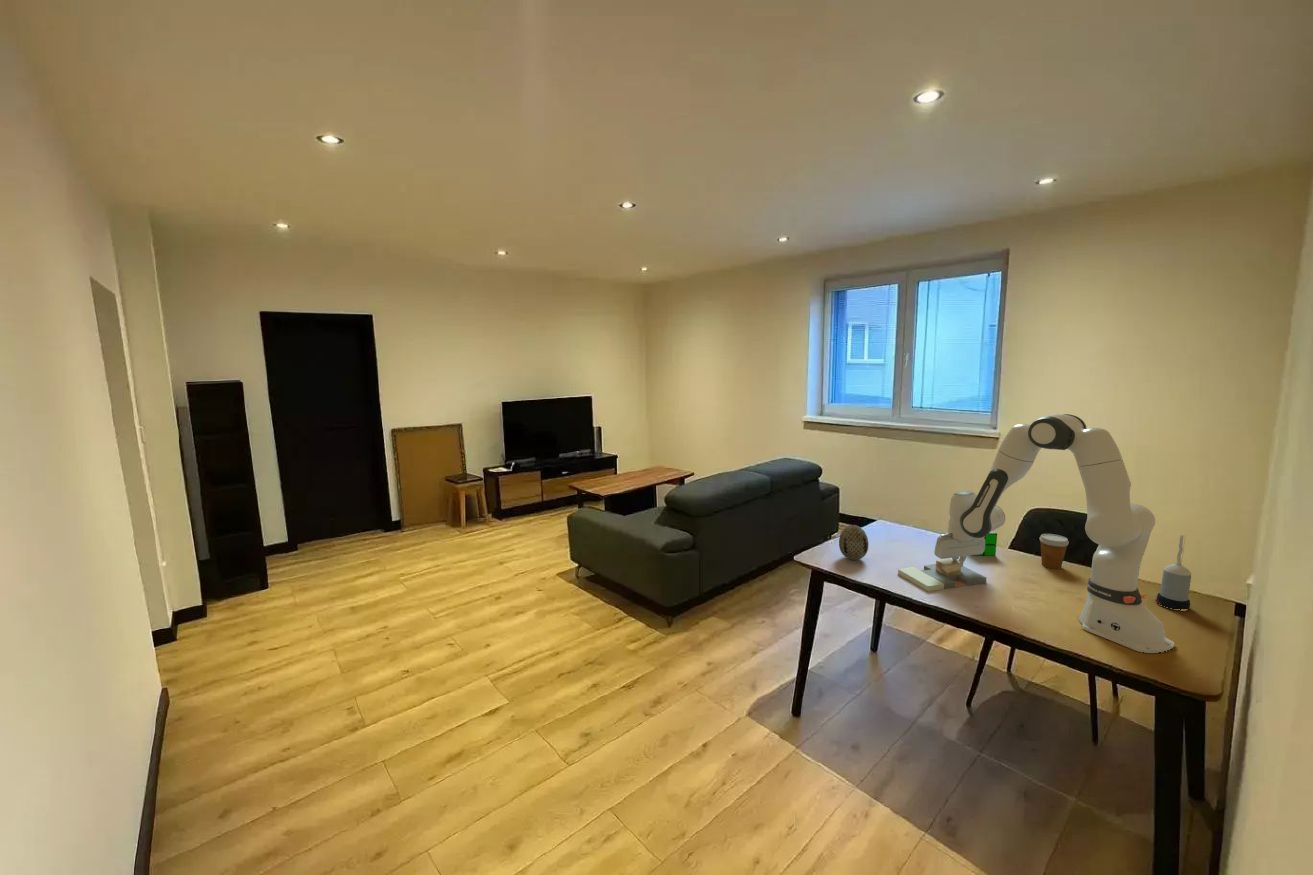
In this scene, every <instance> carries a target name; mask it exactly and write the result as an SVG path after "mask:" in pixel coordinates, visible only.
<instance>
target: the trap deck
mask: <svg viewBox="0 0 1313 875" xmlns="http://www.w3.org/2000/svg"><path fill="white" fill-rule="evenodd" d="M897 574H898V575H899V576H901V577H903V578H904V579H906V580H907V581H909V582H911V583H912V584H915V585H916V586H918V587H920V588H921V589H923V590H925V591H926V592H934V591H939V590H946V589H952V588H958V587H960V588H961V587H965V586H973V585H978V584H979V585H980V584H985V583H987V579H988V578H987V577H986V576H985V575H982V574H980V573H978V572H976V571H974V570H972V569H970V568H968V567H966V566H964V565H963V566H962V567H961V574H959V575H951V576H946V575H944V574H942V573H940V572H939V571H937V570H936V563H933V564H925V565H923V569H918V568H916V567H914V566H911V567H904V568H897Z"/></svg>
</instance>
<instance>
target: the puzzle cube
mask: <svg viewBox="0 0 1313 875" xmlns="http://www.w3.org/2000/svg"><path fill="white" fill-rule="evenodd" d="M984 538H985V550H984V552H983V553H982V554H977V555H976V556H991V557H993V556H994V557H995V556H996V555H997V554H996V553H997V541H998V533H997V532H995V530H994V531H992V532H990V533H989V534H987V535H986V536H985V537H984Z"/></svg>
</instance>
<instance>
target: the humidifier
mask: <svg viewBox="0 0 1313 875" xmlns="http://www.w3.org/2000/svg"><path fill="white" fill-rule="evenodd" d="M1179 536H1180V537H1179V543H1178V552H1177V555H1176V562H1175V563H1171V564H1167V565H1166V566H1165V567H1164V568H1163V571H1162V578H1161V584H1160V592H1158V593H1157V595H1156V599H1155V603H1156V602H1157V603H1158V604H1160V605H1162V606H1165V607H1168V608H1172V609H1180V610H1181V609H1189V608H1191V600H1190V599H1189V595H1190V588H1191V582H1192V581H1191V580H1192V572H1191V571H1190V570H1189V568H1187V567H1186V566H1184V565H1183V564H1182V562H1183V559H1182V558H1183V556H1184V551H1185V545H1184V544H1185V542H1186V539H1184V537H1186V535H1183V534H1180V535H1179ZM1157 603H1156V604H1157ZM1158 604H1157V605H1158ZM1160 605H1159V606H1160ZM1162 606H1161V607H1162ZM1189 610H1190V609H1189Z"/></svg>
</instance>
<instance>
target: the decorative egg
mask: <svg viewBox="0 0 1313 875" xmlns="http://www.w3.org/2000/svg"><path fill="white" fill-rule="evenodd" d="M864 530H865V529H863V528H862V527H860V526H859V525H856V524H849V525H847V526H846V527H844V529H842V531H841V532H840V535H839V537H838V538H839V539H838V546H839V547H838V548H839V550H840V553H841V554H842V555H843V556H844V557H845V558H846V559H849V560H850V561H858V560H862V559H863V558H864V557H865V556H866V555H867V553H868V550H869V539H868V535H867V534H866V532H865V531H864Z"/></svg>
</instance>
